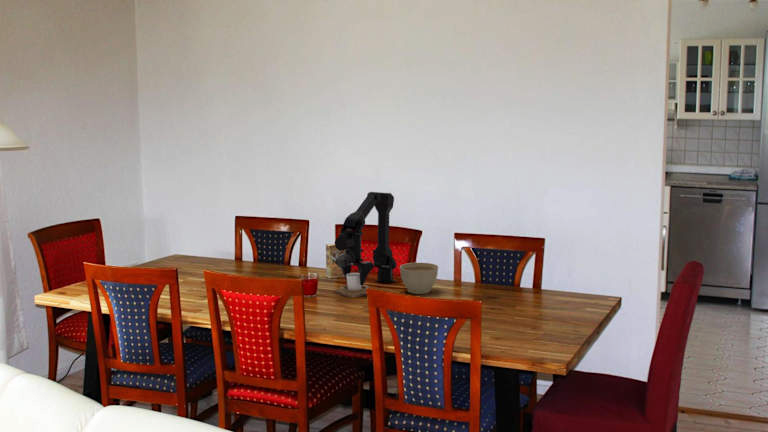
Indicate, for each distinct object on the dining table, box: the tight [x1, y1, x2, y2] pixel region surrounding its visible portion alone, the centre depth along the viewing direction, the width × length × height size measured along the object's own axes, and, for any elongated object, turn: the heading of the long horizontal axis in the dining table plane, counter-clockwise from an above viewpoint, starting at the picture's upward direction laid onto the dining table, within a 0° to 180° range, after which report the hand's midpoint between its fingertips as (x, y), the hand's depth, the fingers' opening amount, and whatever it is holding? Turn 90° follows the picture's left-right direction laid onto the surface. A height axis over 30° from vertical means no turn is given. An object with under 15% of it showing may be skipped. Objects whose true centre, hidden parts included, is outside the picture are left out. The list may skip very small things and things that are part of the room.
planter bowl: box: [399, 262, 439, 295], centre depth 343 cm, size 16×16×11 cm
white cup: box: [346, 272, 362, 290], centre depth 341 cm, size 7×7×7 cm
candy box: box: [325, 243, 345, 279], centre depth 371 cm, size 9×4×15 cm, turn 118°
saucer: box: [334, 284, 370, 299], centre depth 342 cm, size 12×12×2 cm
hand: (354, 283), depth 342 cm, fingers open, 9 cm apart
